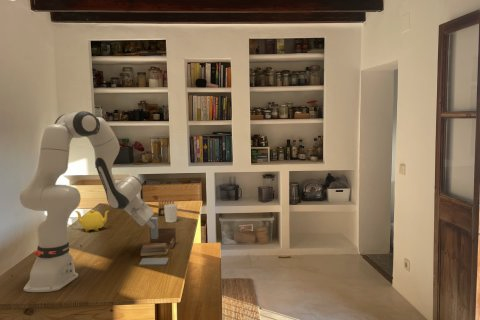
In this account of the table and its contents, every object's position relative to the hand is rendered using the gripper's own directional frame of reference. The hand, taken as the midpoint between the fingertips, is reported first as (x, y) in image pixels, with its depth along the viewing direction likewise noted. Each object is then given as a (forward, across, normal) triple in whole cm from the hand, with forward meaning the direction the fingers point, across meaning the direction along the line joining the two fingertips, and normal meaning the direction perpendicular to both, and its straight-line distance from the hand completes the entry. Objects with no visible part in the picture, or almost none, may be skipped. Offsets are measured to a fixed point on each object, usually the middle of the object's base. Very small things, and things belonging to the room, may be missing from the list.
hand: (155, 226), depth 215 cm
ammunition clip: (+4, +70, +11) cm, 71 cm away
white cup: (+8, +54, +8) cm, 55 cm away
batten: (+4, 0, +5) cm, 6 cm away
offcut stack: (+8, -8, +8) cm, 14 cm away
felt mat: (+10, -20, +7) cm, 23 cm away
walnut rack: (+9, +5, +7) cm, 12 cm away
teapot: (-23, +40, +39) cm, 60 cm away
